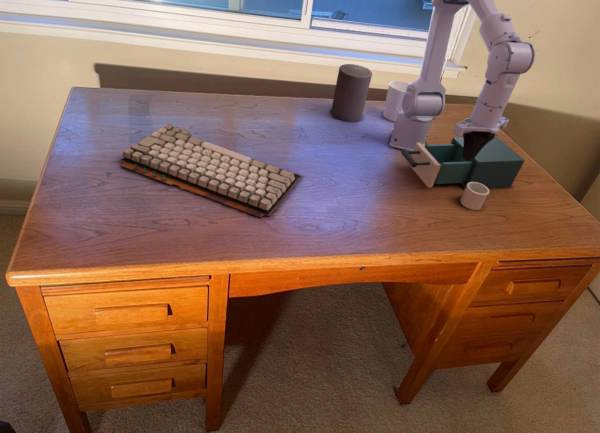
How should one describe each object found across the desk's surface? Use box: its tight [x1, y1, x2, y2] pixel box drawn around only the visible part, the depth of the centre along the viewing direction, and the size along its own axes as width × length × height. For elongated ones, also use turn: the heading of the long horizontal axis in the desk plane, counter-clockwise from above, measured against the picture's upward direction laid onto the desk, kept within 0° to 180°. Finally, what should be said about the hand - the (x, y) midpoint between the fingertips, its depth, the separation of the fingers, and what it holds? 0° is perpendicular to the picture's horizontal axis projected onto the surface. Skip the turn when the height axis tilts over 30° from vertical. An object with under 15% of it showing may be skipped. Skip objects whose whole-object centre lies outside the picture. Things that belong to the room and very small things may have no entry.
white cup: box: [382, 80, 410, 123], centre depth 132 cm, size 8×8×10 cm
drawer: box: [400, 143, 475, 188], centre depth 107 cm, size 17×10×6 cm, turn 105°
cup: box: [459, 182, 490, 211], centre depth 101 cm, size 5×5×4 cm
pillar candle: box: [330, 63, 373, 122], centre depth 127 cm, size 10×10×15 cm
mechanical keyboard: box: [120, 122, 302, 218], centre depth 98 cm, size 38×19×3 cm, turn 68°
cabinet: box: [450, 136, 526, 189], centre depth 111 cm, size 14×12×8 cm
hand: (467, 158), depth 98 cm, fingers closed
